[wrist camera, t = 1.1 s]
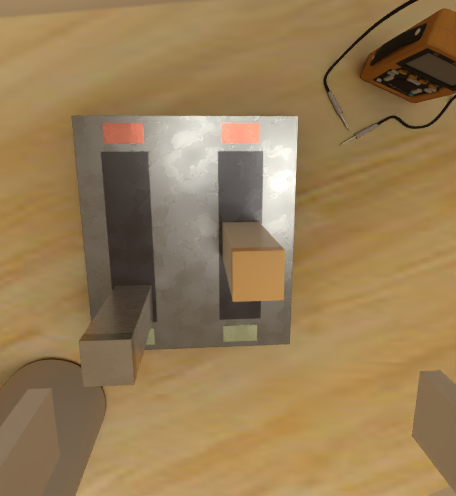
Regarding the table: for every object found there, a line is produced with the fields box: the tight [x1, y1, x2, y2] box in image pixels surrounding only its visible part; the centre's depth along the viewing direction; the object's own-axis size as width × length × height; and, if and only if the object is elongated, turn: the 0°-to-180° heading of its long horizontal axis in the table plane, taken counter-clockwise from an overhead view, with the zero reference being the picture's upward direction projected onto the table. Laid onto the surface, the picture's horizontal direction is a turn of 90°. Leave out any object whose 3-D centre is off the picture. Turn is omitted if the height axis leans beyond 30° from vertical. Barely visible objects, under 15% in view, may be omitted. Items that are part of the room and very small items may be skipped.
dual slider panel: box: [72, 116, 298, 387], centre depth 36 cm, size 23×26×16 cm
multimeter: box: [324, 0, 456, 145], centre depth 33 cm, size 15×10×20 cm
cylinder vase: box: [0, 360, 106, 496], centre depth 36 cm, size 12×12×25 cm
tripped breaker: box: [222, 222, 285, 302], centre depth 35 cm, size 4×4×13 cm
